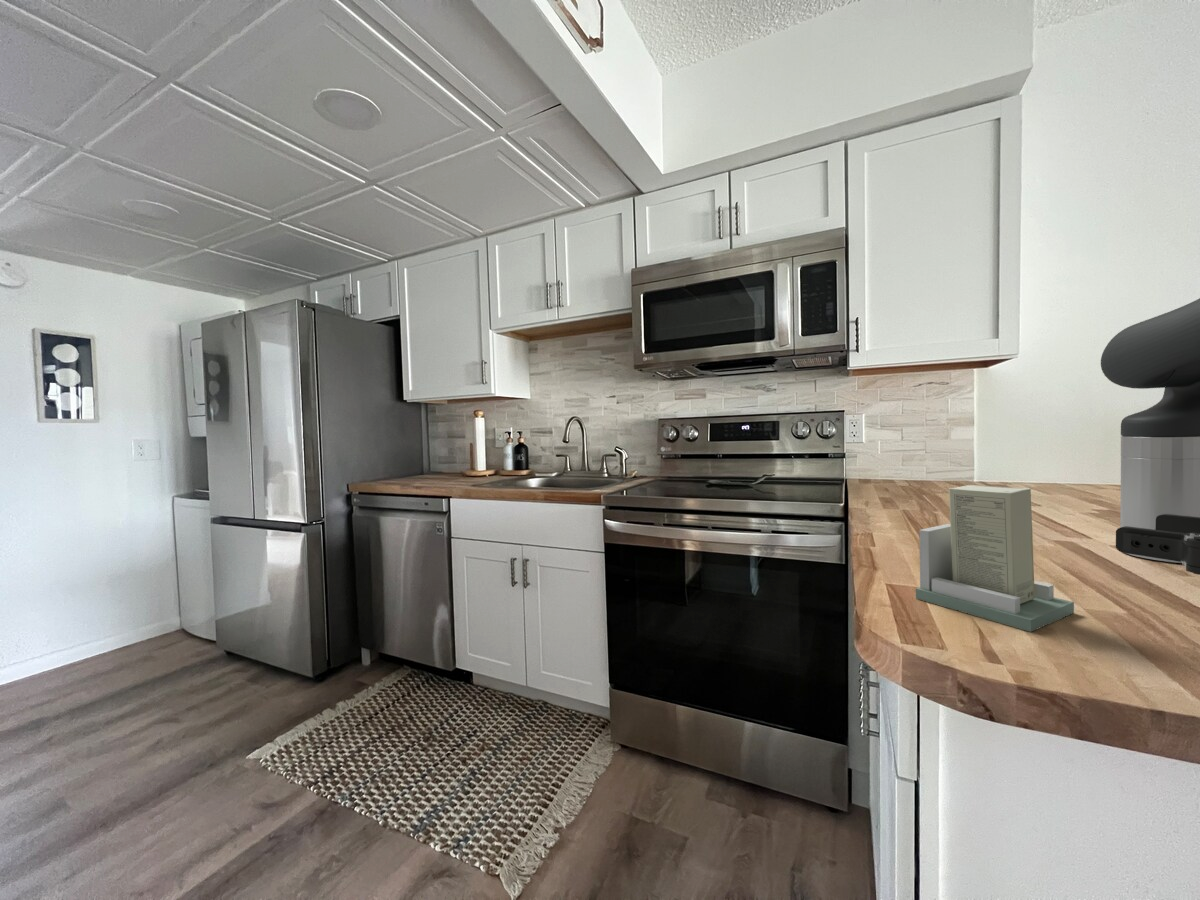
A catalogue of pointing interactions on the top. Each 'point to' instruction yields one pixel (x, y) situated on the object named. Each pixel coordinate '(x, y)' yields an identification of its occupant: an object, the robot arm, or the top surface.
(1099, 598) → the top surface
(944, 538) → the deck socket
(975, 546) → the skincare box
